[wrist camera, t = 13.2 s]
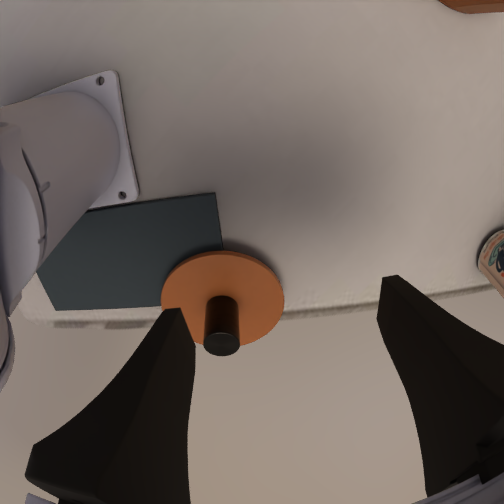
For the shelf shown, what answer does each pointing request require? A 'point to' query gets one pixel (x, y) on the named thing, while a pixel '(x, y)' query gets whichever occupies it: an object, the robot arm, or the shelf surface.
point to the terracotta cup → (475, 5)
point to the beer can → (493, 261)
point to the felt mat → (128, 252)
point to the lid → (224, 299)
